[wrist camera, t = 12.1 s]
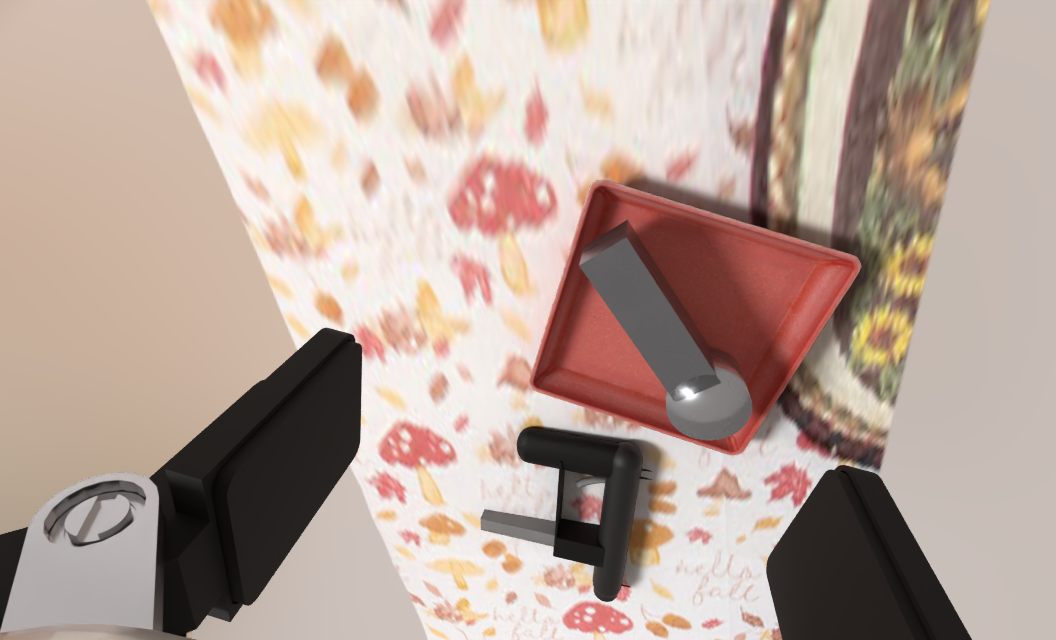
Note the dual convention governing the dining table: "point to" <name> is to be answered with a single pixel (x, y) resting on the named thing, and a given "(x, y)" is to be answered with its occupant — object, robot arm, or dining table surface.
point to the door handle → (584, 456)
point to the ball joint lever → (668, 337)
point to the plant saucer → (690, 308)
